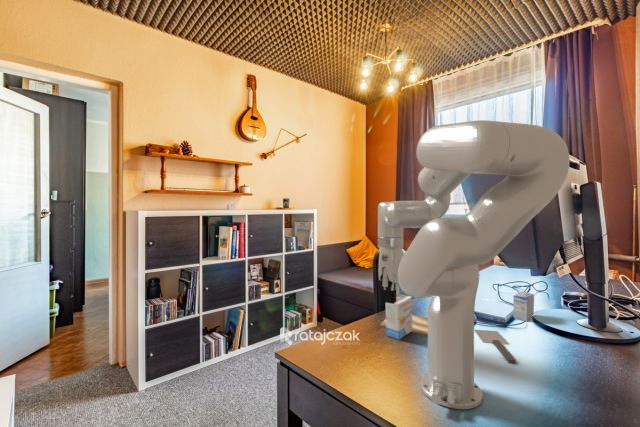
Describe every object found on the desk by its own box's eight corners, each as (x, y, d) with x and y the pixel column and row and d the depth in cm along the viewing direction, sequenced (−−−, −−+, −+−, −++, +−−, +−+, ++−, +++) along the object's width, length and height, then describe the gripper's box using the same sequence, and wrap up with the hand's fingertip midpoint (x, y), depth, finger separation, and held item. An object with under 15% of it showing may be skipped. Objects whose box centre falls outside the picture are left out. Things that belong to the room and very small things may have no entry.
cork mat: (427, 335, 96) (427, 333, 96) (380, 325, 104) (380, 324, 104) (436, 320, 108) (436, 319, 108) (393, 312, 117) (393, 311, 117)
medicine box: (520, 313, 115) (520, 291, 115) (534, 316, 111) (534, 293, 111) (513, 318, 110) (513, 295, 110) (527, 322, 106) (527, 298, 106)
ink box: (399, 340, 92) (398, 294, 91) (385, 335, 96) (384, 291, 95) (413, 330, 98) (412, 287, 97) (399, 326, 102) (398, 284, 101)
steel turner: (527, 364, 77) (527, 361, 77) (497, 362, 79) (497, 358, 79) (497, 332, 98) (497, 329, 98) (474, 330, 99) (474, 327, 99)
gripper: (394, 246, 82) (394, 312, 82) (409, 240, 94) (409, 297, 95) (369, 244, 86) (369, 307, 86) (386, 239, 98) (386, 294, 99)
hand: (390, 302), depth 91 cm, fingers closed
